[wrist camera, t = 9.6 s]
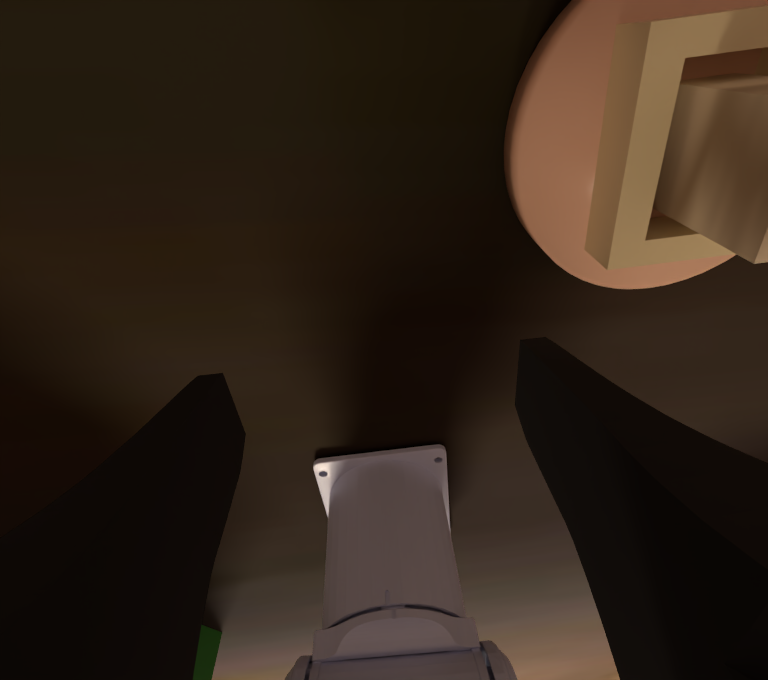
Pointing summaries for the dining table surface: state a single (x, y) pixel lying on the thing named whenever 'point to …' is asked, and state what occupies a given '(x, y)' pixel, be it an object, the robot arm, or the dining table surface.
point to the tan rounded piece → (618, 131)
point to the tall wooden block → (719, 162)
